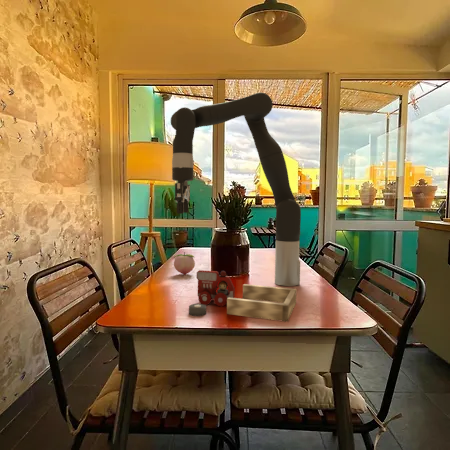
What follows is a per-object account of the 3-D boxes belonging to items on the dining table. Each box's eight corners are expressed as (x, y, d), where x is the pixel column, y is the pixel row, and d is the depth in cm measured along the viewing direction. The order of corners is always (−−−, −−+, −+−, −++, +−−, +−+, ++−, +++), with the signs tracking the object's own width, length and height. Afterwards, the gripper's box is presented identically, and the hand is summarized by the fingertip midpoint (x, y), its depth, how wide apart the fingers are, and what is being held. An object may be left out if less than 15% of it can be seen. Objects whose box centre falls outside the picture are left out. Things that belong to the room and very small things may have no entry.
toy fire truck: (232, 307, 103) (232, 274, 102) (193, 304, 105) (193, 272, 105) (236, 300, 110) (236, 269, 109) (199, 298, 112) (199, 267, 111)
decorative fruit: (195, 272, 151) (195, 250, 151) (194, 276, 143) (194, 253, 142) (174, 272, 151) (174, 250, 150) (172, 276, 143) (172, 253, 142)
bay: (226, 314, 97) (227, 298, 96) (243, 297, 114) (244, 284, 113) (287, 321, 91) (288, 305, 91) (296, 302, 108) (296, 289, 108)
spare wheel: (206, 310, 100) (206, 303, 100) (205, 316, 95) (205, 308, 95) (189, 310, 100) (189, 302, 100) (188, 316, 95) (188, 308, 95)
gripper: (177, 169, 126) (177, 212, 127) (167, 165, 112) (167, 213, 113) (196, 169, 125) (196, 212, 127) (189, 165, 111) (189, 214, 113)
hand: (182, 213), depth 120 cm, fingers open, 8 cm apart
